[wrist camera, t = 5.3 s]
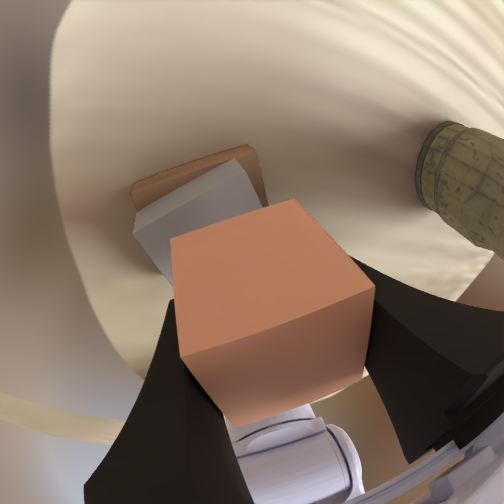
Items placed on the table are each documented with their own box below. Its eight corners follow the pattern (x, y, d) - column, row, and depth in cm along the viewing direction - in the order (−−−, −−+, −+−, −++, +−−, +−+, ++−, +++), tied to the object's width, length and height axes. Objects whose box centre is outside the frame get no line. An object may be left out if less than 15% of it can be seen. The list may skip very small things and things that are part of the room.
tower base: (267, 235, 21) (279, 254, 19) (174, 267, 21) (176, 290, 18) (244, 142, 17) (255, 151, 15) (135, 179, 16) (130, 194, 14)
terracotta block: (307, 289, 13) (361, 379, 9) (209, 323, 12) (235, 428, 8) (293, 198, 10) (375, 285, 6) (170, 238, 10) (180, 357, 6)
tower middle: (274, 241, 18) (288, 264, 16) (190, 285, 19) (194, 312, 17) (234, 157, 15) (245, 171, 13) (136, 212, 15) (131, 234, 13)
